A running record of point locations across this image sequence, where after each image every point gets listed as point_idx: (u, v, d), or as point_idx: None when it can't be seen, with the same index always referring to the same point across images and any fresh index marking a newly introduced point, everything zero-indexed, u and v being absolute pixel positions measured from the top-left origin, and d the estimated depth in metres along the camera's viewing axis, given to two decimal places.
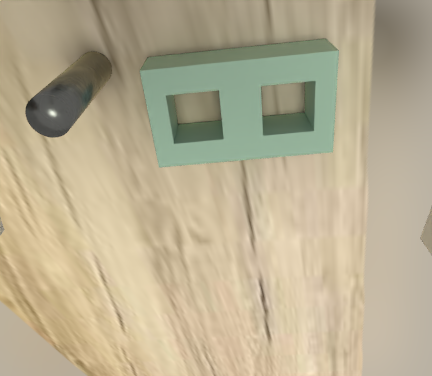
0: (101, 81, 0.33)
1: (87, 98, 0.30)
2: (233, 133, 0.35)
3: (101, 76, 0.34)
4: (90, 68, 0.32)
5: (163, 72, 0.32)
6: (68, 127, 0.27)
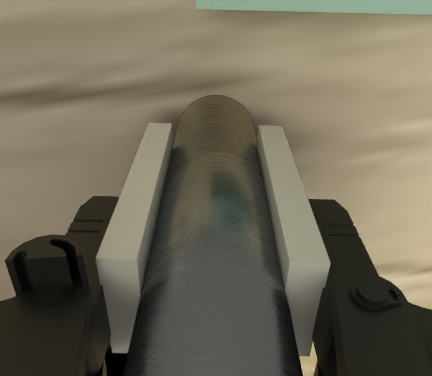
0: (223, 139, 0.12)
1: (226, 229, 0.08)
2: None
3: (212, 132, 0.12)
4: (178, 159, 0.11)
5: None
6: None
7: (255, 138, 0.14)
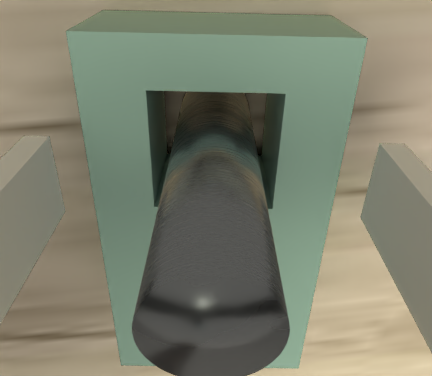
0: (221, 109, 0.14)
1: (223, 170, 0.10)
2: None
3: (212, 105, 0.14)
4: (183, 126, 0.13)
5: (123, 340, 0.19)
6: (262, 293, 0.07)
7: (249, 113, 0.16)
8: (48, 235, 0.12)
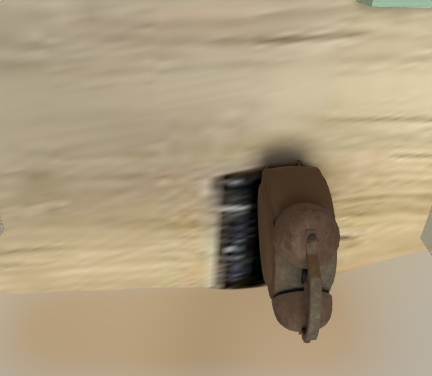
0: None
1: None
2: None
3: None
4: None
5: None
6: None
7: None
8: None
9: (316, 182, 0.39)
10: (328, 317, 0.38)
